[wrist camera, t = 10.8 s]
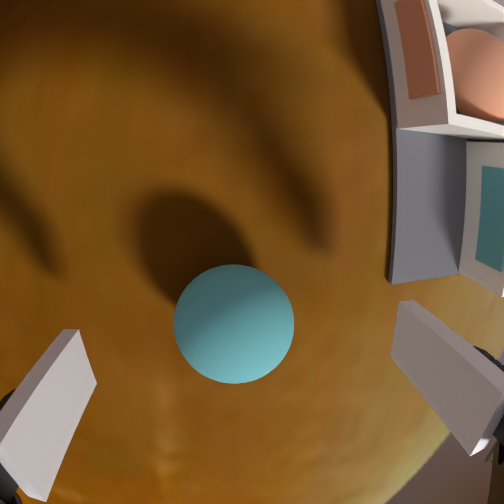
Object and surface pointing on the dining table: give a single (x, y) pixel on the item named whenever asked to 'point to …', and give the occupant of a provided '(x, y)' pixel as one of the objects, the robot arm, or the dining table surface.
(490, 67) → the ball terracotta
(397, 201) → the mat
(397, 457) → the dining table surface
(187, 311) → the ball teal
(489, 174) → the white square bin
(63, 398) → the robot arm
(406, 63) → the white square box
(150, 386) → the dining table surface
